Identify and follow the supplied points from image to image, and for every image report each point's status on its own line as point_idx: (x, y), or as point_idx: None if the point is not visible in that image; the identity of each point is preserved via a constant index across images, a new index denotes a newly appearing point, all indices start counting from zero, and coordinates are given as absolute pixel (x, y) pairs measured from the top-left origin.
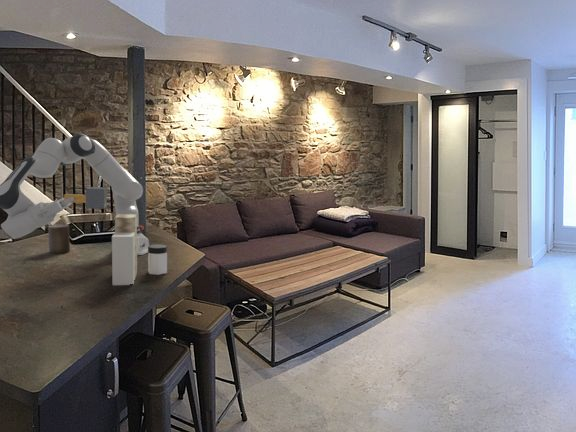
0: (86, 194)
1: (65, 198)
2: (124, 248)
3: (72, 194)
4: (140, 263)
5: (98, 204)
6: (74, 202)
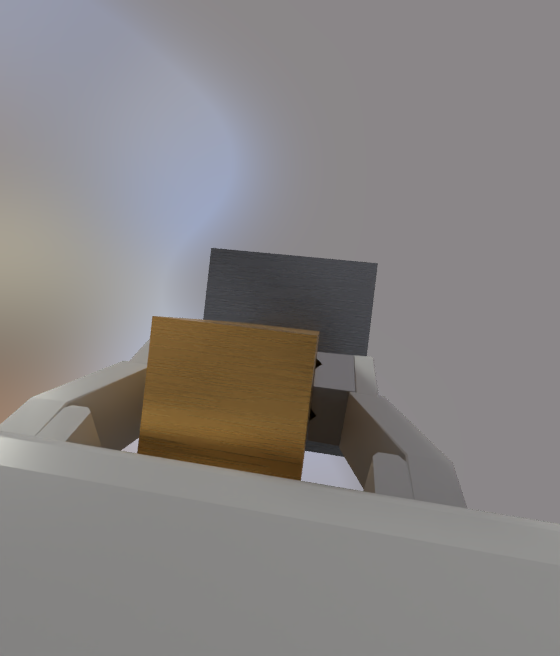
0: (369, 321)
1: (305, 413)
2: None
3: (235, 323)
4: None
5: None
6: (306, 437)
